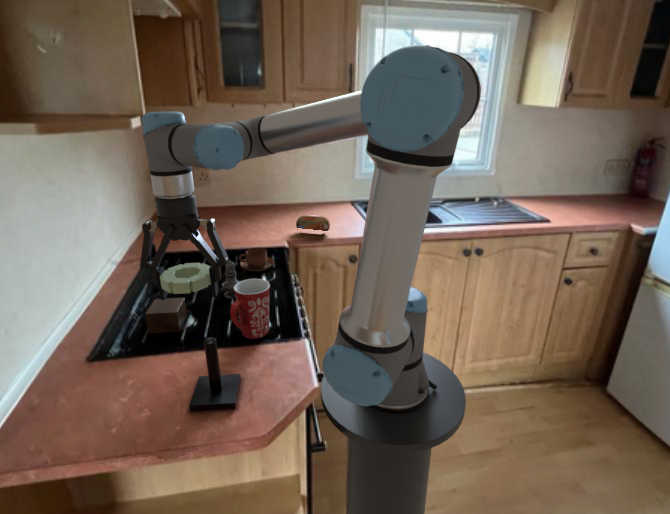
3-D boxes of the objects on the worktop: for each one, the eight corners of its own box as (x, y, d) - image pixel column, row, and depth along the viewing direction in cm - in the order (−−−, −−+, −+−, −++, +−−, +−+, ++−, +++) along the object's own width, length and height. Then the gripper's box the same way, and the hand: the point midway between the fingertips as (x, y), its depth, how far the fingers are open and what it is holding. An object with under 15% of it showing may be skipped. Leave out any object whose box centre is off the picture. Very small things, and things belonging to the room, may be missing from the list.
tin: (296, 233, 181) (295, 215, 178) (298, 231, 184) (297, 213, 181) (329, 236, 178) (328, 217, 175) (330, 233, 181) (330, 215, 178)
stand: (241, 379, 92) (235, 327, 87) (235, 408, 83) (229, 353, 78) (199, 381, 91) (192, 329, 86) (190, 411, 82) (181, 355, 78)
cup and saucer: (245, 276, 140) (243, 260, 138) (237, 264, 150) (235, 248, 148) (278, 270, 145) (277, 254, 143) (268, 258, 155) (267, 243, 153)
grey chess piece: (233, 300, 125) (229, 264, 121) (219, 296, 128) (215, 260, 123) (246, 292, 130) (243, 257, 125) (232, 288, 132) (228, 254, 128)
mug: (253, 318, 115) (249, 275, 110) (279, 327, 111) (276, 282, 106) (221, 342, 105) (215, 295, 100) (248, 352, 101) (244, 304, 96)
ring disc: (216, 271, 92) (215, 261, 91) (207, 292, 82) (205, 281, 82) (170, 273, 91) (169, 263, 90) (156, 294, 82) (154, 284, 81)
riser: (187, 316, 116) (184, 297, 114) (179, 331, 109) (176, 312, 107) (158, 317, 116) (154, 298, 114) (148, 333, 108) (145, 313, 106)
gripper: (236, 188, 84) (245, 285, 92) (122, 191, 83) (142, 290, 91) (230, 197, 77) (241, 301, 85) (106, 201, 76) (128, 307, 83)
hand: (190, 295), depth 88 cm, fingers closed on ring disc, 10 cm apart
